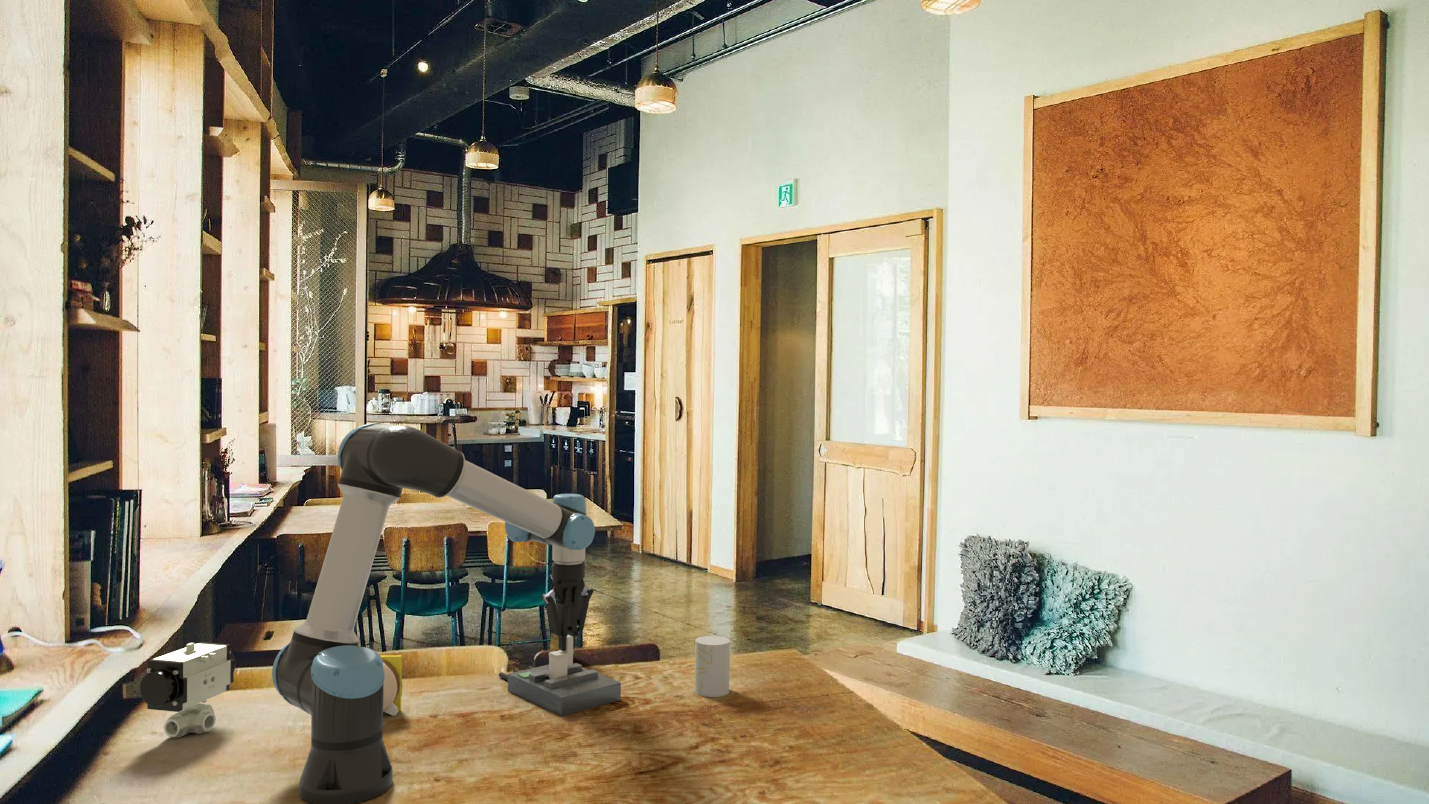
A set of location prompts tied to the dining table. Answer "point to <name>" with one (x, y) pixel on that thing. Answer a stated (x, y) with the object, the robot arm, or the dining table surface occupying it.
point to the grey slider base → (563, 688)
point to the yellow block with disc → (392, 684)
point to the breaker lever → (558, 664)
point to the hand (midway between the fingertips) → (566, 663)
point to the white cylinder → (712, 666)
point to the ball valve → (188, 685)
